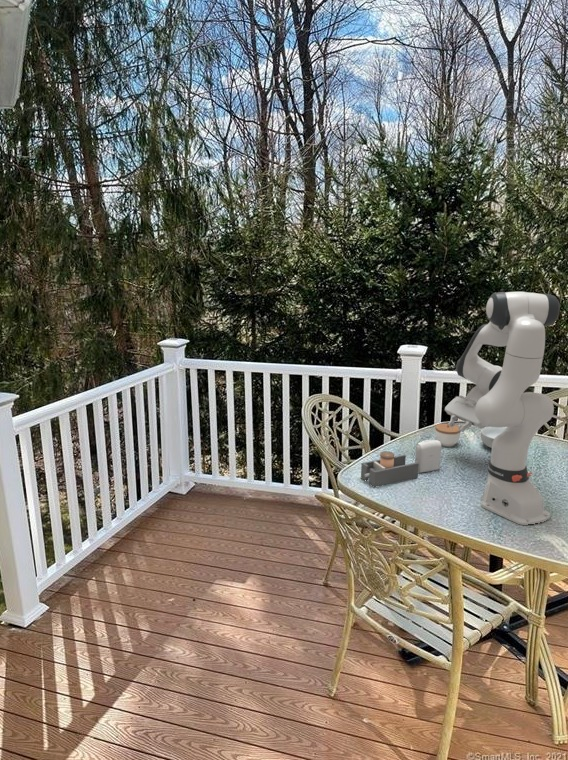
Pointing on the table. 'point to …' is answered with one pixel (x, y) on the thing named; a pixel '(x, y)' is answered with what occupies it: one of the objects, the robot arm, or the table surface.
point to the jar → (387, 459)
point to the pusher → (376, 468)
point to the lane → (390, 472)
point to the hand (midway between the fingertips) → (455, 428)
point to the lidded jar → (447, 434)
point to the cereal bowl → (490, 434)
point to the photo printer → (428, 455)
